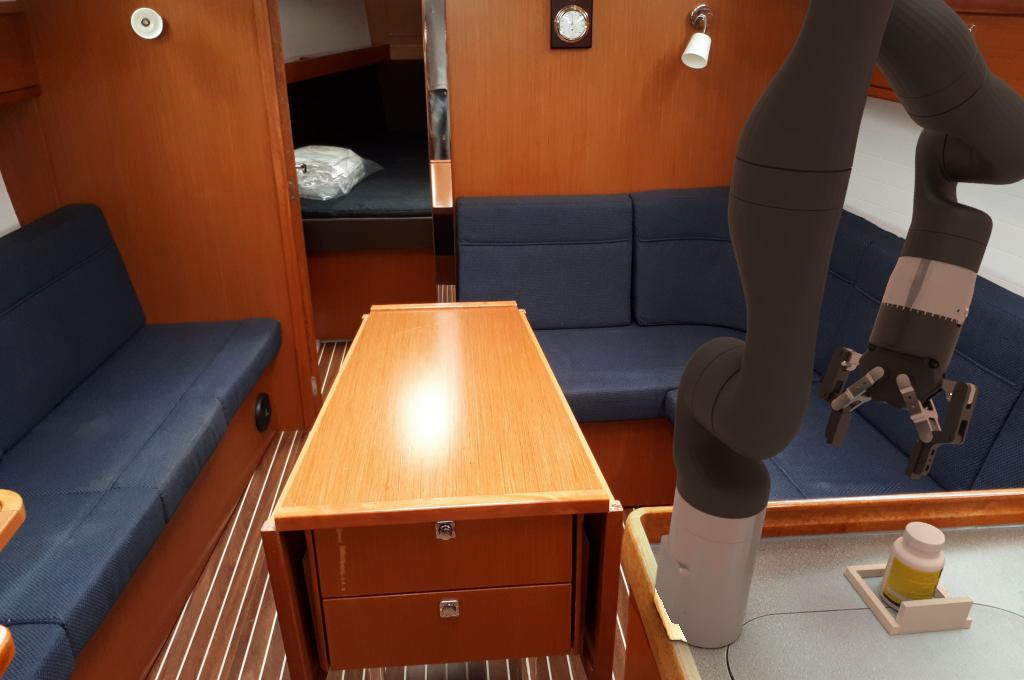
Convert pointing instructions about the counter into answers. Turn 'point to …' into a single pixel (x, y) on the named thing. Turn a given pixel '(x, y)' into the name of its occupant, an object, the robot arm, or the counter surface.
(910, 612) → the beige open frame
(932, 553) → the supplement bottle
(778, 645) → the counter surface
